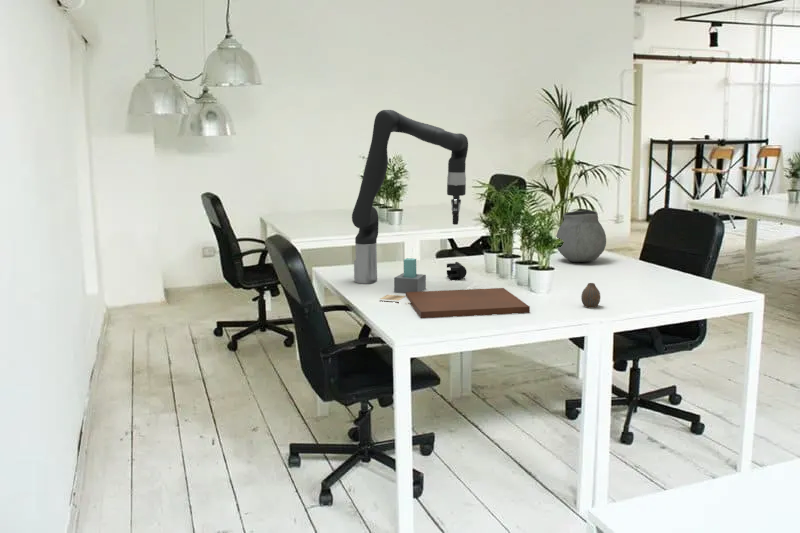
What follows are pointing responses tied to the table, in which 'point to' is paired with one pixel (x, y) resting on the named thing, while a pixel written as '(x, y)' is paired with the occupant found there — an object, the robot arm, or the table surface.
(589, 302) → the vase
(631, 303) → the table surface
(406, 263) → the plug
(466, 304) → the flat brown board
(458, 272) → the end cap
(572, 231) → the ceramic pot
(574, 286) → the table surface
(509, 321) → the table surface
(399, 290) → the grey square socket block
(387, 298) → the mat
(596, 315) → the table surface
